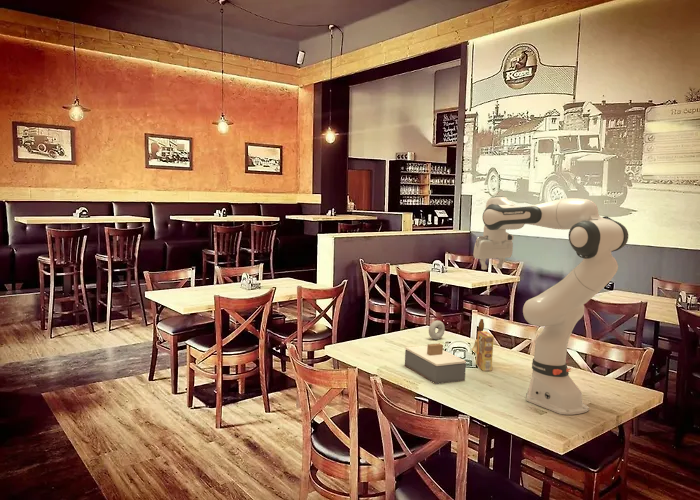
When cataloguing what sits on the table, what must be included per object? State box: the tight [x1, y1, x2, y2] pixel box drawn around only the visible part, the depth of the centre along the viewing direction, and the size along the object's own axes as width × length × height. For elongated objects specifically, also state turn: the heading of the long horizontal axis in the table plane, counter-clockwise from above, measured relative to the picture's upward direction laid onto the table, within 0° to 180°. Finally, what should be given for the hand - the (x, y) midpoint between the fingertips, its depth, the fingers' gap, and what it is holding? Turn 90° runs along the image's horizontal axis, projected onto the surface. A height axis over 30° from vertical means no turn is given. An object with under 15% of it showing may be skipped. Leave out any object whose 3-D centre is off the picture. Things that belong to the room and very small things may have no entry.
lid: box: [405, 342, 467, 366], centre depth 224 cm, size 24×14×5 cm, turn 24°
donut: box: [428, 319, 446, 340], centre depth 278 cm, size 10×4×10 cm, turn 123°
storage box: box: [404, 349, 467, 385], centre depth 225 cm, size 24×14×7 cm, turn 24°
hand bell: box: [471, 318, 485, 354], centre depth 259 cm, size 8×8×16 cm
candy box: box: [475, 330, 494, 372], centre depth 234 cm, size 9×4×15 cm, turn 8°
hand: (491, 268), depth 224 cm, fingers open, 8 cm apart
